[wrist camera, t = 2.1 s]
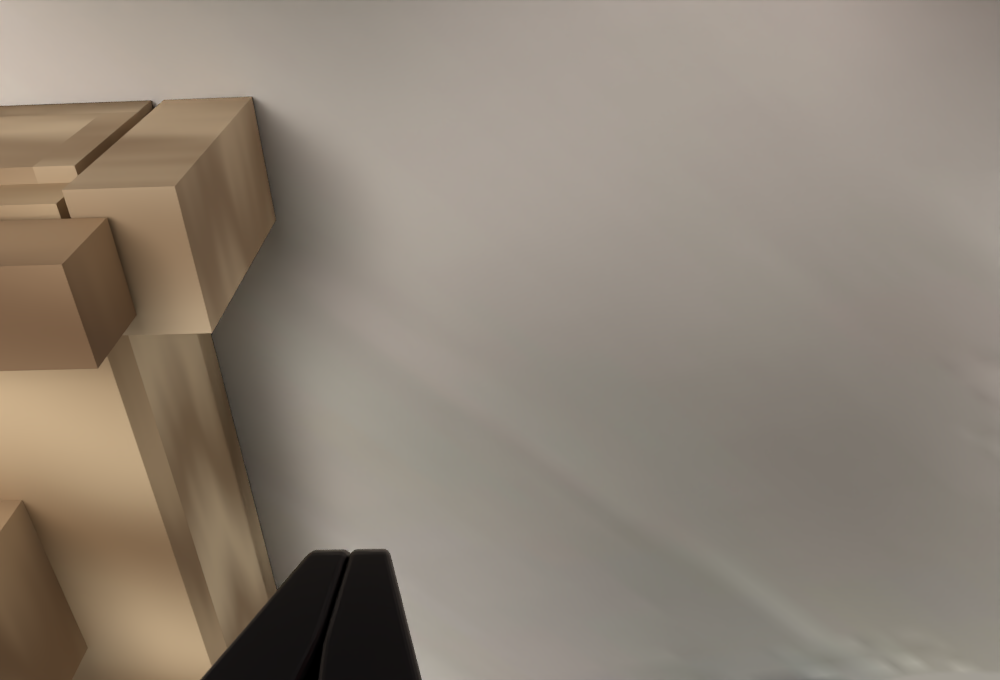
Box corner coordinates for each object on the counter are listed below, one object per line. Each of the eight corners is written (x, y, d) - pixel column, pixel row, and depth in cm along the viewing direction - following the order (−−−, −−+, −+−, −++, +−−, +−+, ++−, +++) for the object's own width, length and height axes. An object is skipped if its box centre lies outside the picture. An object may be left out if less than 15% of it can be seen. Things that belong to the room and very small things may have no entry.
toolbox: (348, 591, 28) (316, 740, 24) (-65, 597, 29) (-171, 744, 24) (251, 97, 20) (174, 186, 15) (-334, 118, 20) (-572, 211, 16)
